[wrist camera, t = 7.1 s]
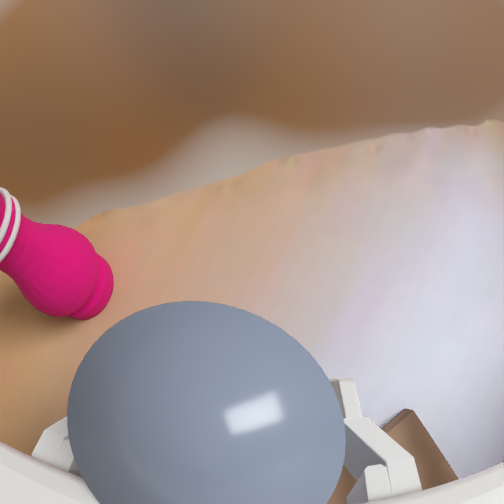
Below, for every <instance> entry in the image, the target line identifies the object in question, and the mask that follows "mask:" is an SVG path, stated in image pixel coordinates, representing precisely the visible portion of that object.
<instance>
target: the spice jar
mask: <svg viewBox="0 0 504 504" xmlns="http://www.w3.org/2000/svg"><path fill="white" fill-rule="evenodd" d="M67 428H68V435H69V441H70V446H71V450H72V453H73V457H74V460H75V462H76V465H77V467H78V469H79V472H80V474H81V476H82V478H83V479H84V481H85V483H86V485H87V486H88V488H89V490H90V491H91V492H92V494H93V495H94V496H95V498H96V499H97V500H98V502H99V503H100V504H327V502H328V500H329V499H330V497H331V495H332V494H333V492H334V490H335V488H336V485H337V483H338V480H339V478H340V475H341V472H342V467H343V462H344V458H345V444H346V436H345V426H344V419H343V415H342V411H341V407H340V403H339V401H338V398H337V396H336V394H335V391H334V389H333V387H332V385H331V383H330V381H329V380H328V378H327V376H326V374H325V373H324V371H323V369H322V368H321V367H320V366H319V364H318V363H317V362H316V361H315V359H314V358H313V357H312V356H311V354H310V353H309V352H308V351H307V350H306V349H305V348H304V347H303V346H302V345H301V344H300V343H298V342H297V341H296V340H295V339H294V338H293V337H291V336H290V335H289V334H287V333H286V332H285V331H283V330H282V329H281V328H279V327H277V326H276V325H274V324H272V323H270V322H269V321H267V320H265V319H263V318H262V317H259V316H257V315H254V314H252V313H250V312H247V311H245V310H242V309H238V308H235V307H231V306H228V305H224V304H217V303H211V302H200V301H182V302H173V303H166V304H161V305H157V306H153V307H149V308H147V309H144V310H141V311H139V312H136V313H134V314H132V315H130V316H128V317H126V318H125V319H123V320H121V321H119V322H118V323H117V324H115V325H114V326H112V327H111V328H110V329H108V330H107V331H106V332H105V333H104V334H103V335H102V336H101V337H100V338H99V339H98V340H97V341H96V342H95V343H94V344H93V346H92V347H91V348H90V349H89V351H88V352H87V353H86V355H85V357H84V358H83V360H82V362H81V364H80V365H79V367H78V369H77V372H76V374H75V377H74V379H73V382H72V386H71V390H70V394H69V399H68V409H67Z"/></svg>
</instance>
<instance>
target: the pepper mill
mask: <svg viewBox="0 0 504 504" xmlns="http://www.w3.org/2000/svg"><path fill="white" fill-rule="evenodd" d="M0 270H1V271H3V272H4V273H6V274H8V275H9V276H10V277H11V278H12V279H13V280H14V281H15V283H16V284H17V286H18V287H19V289H20V291H21V292H22V294H23V295H24V297H25V298H26V299H27V300H28V301H29V302H30V303H31V304H32V305H33V306H34V307H35V308H36V309H38V310H40V311H42V312H44V313H46V314H48V315H51V316H55V317H61V316H70V317H73V318H76V319H81V320H84V319H89V318H92V317H94V316H96V315H97V314H99V313H100V312H101V311H102V310H103V309H104V307H105V306H106V305H107V303H108V301H109V299H110V297H111V294H112V289H113V275H112V271H111V268H110V266H109V264H108V263H107V262H106V261H105V260H104V259H103V258H102V257H101V256H100V255H98V254H97V253H96V252H95V249H94V248H93V246H92V244H91V243H90V241H89V240H88V239H87V238H86V237H85V236H84V235H82V234H80V233H79V232H77V231H75V230H74V229H72V228H69V227H65V226H62V225H54V224H41V223H36V222H33V221H31V220H29V219H28V218H26V217H24V216H23V214H22V213H21V211H20V205H19V203H18V201H17V199H16V198H15V197H13V196H12V195H10V194H9V192H8V191H7V190H5V189H4V188H0Z"/></svg>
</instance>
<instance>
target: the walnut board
mask: <svg viewBox="0 0 504 504" xmlns="http://www.w3.org/2000/svg"><path fill="white" fill-rule="evenodd" d="M382 430H383V431H384V432H385V433H386V434H387V435H389V436H390V437H391V438H392V439H393V440H394V441H395V442H397V443H398V444H399V445H400V446H401V447H402V448H404V449H405V450H406V451H407V452H408V453H409V454H411V455H412V456H413V457H414V460H415V464H416V468H417V471H418V475H419V479H420V483H421V487H422V490H425V489H429V488H432V487H436V486H439V485H443V484H446V483H449V482H452V481H455V480H458V478H457V476H456V475H455V473H454V471H453V470H452V468H451V467H450V465H449V464H448V462H447V461H446V459H445V457H444V456H443V454H442V453H441V451H440V450H439V448H438V447H437V445H436V444H435V442H434V441H433V439H432V438H431V436H430V435H429V433H428V432H427V430H426V429H425V427H424V426H423V424H422V423H421V421H420V420H419V418H418V417H417V415H416V414H415V412H414V411H413V410H409V409H404V410H403V411H402V412H401V413H399V414H398V415H397V416H396V417H395V418H394V419H392V420H391V421H390V422H389V423H388V424H386V425H385V426H384V427H383V428H382ZM356 482H357V480H356V479H355V478H354V477H353V476H352V474H351V473H350V472H349V471H348V470H347V468H346V467H345V466H344V465H343V467H342V472H341V475H340V478H339V480H338V483H337V485H336V488H335V490H334V492H333V494H332V495H331V497H330V499H329V500H328V502H327V504H347V498H346V497H347V496H348V494H349V493H350V491H351V490H352V488H353V487H354V485H355V484H356Z"/></svg>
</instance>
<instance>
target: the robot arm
mask: <svg viewBox="0 0 504 504" xmlns="http://www.w3.org/2000/svg"><path fill="white" fill-rule="evenodd" d="M329 381H330V383H331V385H332V387H333V389H334V391H335V394H336V396H337V398H338V401H339V403H340V407H341V411H342V415H343V419H344V426H345V436H346V444H345V458H344V462H343V465H344V466H345V467H346V468H347V470H348V471H349V472H350V473H351V474H352V476H353V477H354V478H355V479H356V480H357V482H356V484H355V485H354V487H353V488H352V490H351V491H350V493H349V494H348V496H347V497H346V498H347V504H504V461H503V462H501V463H499V464H496V465H494V466H492V467H489V468H487V469H485V470H482V471H480V472H477V473H474V474H472V475H469V476H466V477H464V478H461V479H458V480H455V481H452V482H449V483H446V484H443V485H439V486H436V487H432V488H429V489H425V490H422V487H421V483H420V479H419V475H418V471H417V468H416V464H415V460H414V457H413V456H412V455H411V454H409V453H408V452H407V451H406V450H405V449H404V448H402V447H401V446H400V445H399V444H398V443H397V442H395V441H394V440H393V439H392V438H391V437H390V436H389V435H387V434H386V433H385V432H384V431H383V430H382V429H381V428H379V427H378V426H377V425H376V424H375V423H374V422H373V421H371V420H370V419H369V418H368V417H367V416H365V417H362V412H361V408H360V403H359V399H358V395H357V391H356V387H355V382H354V380H353V379H352V378H349V379H330V380H329ZM0 504H100V503H99V502H98V500H97V499H96V498H95V496H94V495H93V494H92V492H91V491H90V490H89V488H88V486H87V485H86V483H85V481H84V479H83V478H82V476H81V474H80V472H79V469H78V467H77V465H76V462H75V460H74V457H73V453H72V450H71V446H70V441H69V435H68V428H67V416H66V417H64V418H63V419H61V420H60V421H58V422H56V423H55V424H53V425H51V426H50V427H48V428H47V429H45V430H44V432H43V434H42V435H41V437H40V439H39V441H38V443H37V445H36V447H35V449H34V451H33V453H32V455H31V456H29V455H27V454H25V453H23V452H21V451H19V450H17V449H15V448H13V447H11V446H9V445H7V444H5V443H4V442H2V441H0Z"/></svg>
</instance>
